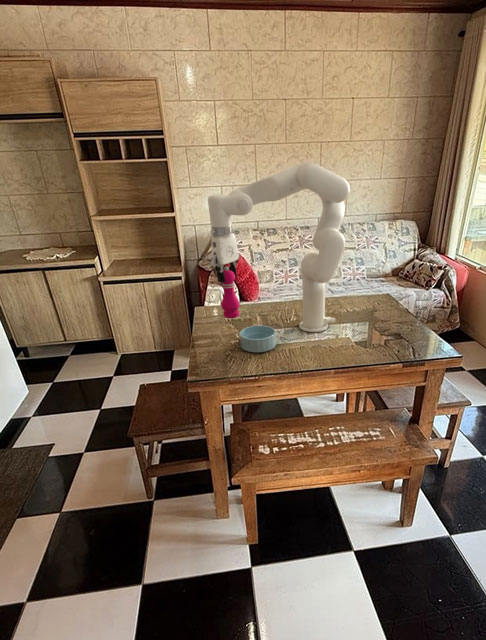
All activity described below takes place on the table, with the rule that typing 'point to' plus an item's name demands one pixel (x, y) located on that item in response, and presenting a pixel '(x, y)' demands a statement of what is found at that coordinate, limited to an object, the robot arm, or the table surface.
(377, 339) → the table surface
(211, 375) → the table surface
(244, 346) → the bowl
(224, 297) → the pepper mill
